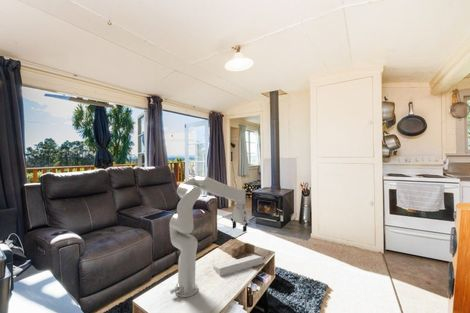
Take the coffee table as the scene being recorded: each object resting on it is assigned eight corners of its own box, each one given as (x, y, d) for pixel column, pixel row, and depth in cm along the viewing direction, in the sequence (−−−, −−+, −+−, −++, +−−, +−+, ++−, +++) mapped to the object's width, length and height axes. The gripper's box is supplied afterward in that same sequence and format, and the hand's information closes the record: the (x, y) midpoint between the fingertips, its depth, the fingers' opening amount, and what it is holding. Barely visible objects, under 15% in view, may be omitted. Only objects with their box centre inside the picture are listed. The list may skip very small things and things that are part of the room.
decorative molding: (213, 273, 143) (220, 276, 135) (213, 265, 145) (219, 268, 136) (255, 261, 160) (262, 264, 152) (254, 255, 162) (262, 256, 153)
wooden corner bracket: (240, 260, 156) (240, 252, 156) (232, 256, 161) (232, 249, 161) (254, 252, 169) (254, 245, 169) (245, 249, 174) (246, 242, 174)
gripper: (252, 207, 149) (252, 231, 149) (234, 203, 161) (233, 225, 161) (246, 209, 144) (245, 234, 144) (227, 204, 155) (227, 228, 155)
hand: (239, 229), depth 152 cm, fingers open, 9 cm apart
